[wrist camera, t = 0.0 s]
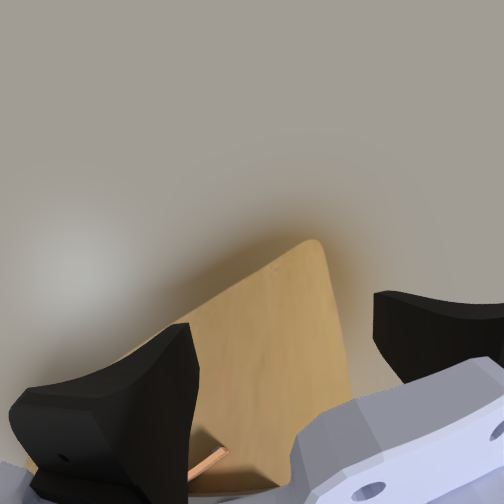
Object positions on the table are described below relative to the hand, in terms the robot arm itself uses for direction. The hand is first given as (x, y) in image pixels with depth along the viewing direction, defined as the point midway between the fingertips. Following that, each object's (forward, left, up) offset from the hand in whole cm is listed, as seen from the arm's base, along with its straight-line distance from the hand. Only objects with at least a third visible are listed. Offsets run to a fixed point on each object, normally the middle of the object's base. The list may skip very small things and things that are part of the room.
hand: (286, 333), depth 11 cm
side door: (-6, +11, -32) cm, 35 cm away
